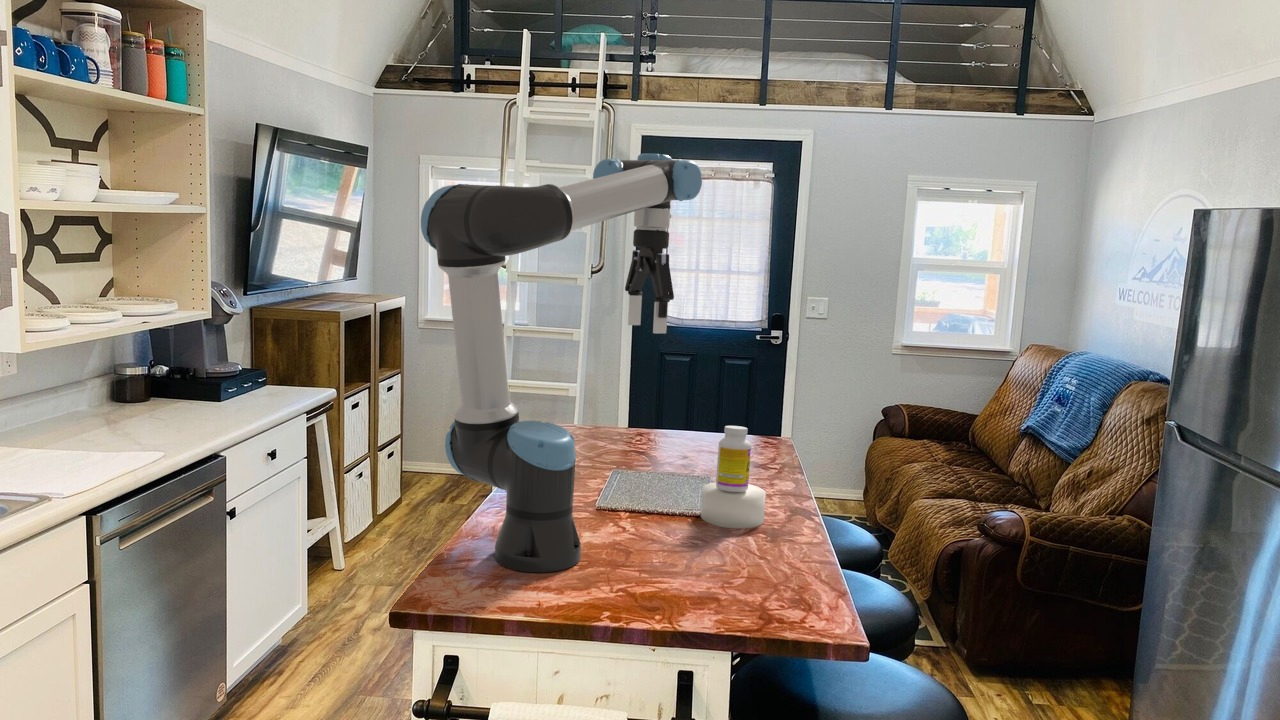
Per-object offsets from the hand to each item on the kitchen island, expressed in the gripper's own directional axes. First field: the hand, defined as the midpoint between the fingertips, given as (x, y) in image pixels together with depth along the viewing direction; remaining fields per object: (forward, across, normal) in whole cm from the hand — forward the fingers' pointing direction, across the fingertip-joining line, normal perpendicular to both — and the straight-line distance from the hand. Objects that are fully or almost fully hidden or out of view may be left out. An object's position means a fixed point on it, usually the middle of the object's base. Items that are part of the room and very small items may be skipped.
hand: (646, 329), depth 197 cm
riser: (+37, -20, -13) cm, 44 cm away
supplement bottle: (+31, -20, -12) cm, 38 cm away
